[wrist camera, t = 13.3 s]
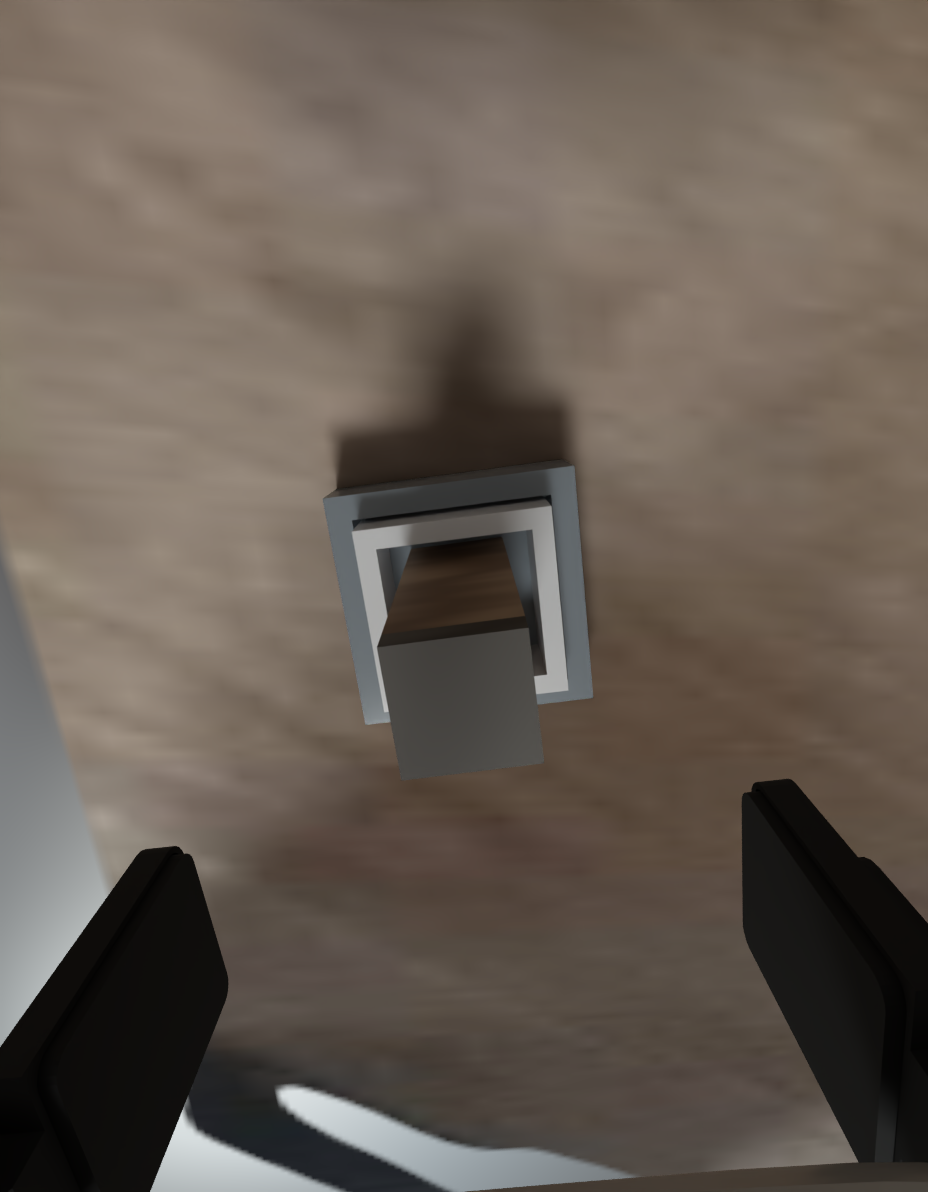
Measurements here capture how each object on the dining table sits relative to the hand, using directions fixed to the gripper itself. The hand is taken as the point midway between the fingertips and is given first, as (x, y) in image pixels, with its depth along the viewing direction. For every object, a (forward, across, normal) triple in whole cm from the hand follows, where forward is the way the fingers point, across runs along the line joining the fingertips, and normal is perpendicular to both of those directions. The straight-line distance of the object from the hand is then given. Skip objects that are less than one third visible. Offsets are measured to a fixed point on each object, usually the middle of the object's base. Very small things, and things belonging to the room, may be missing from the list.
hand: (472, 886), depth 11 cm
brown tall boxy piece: (+19, 0, 0) cm, 19 cm away
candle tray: (+20, 0, 0) cm, 20 cm away
